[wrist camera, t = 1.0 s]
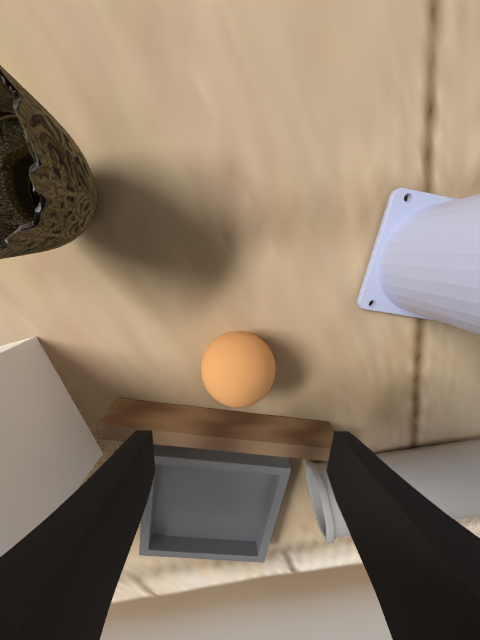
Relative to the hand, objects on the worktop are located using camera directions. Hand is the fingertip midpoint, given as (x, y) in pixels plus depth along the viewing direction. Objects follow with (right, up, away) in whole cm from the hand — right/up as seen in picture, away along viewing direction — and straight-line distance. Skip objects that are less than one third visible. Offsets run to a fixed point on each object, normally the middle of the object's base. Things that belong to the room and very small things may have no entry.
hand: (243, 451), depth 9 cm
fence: (-1, -3, +10) cm, 11 cm away
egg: (0, +2, +6) cm, 7 cm away
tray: (-3, -12, +13) cm, 18 cm away
